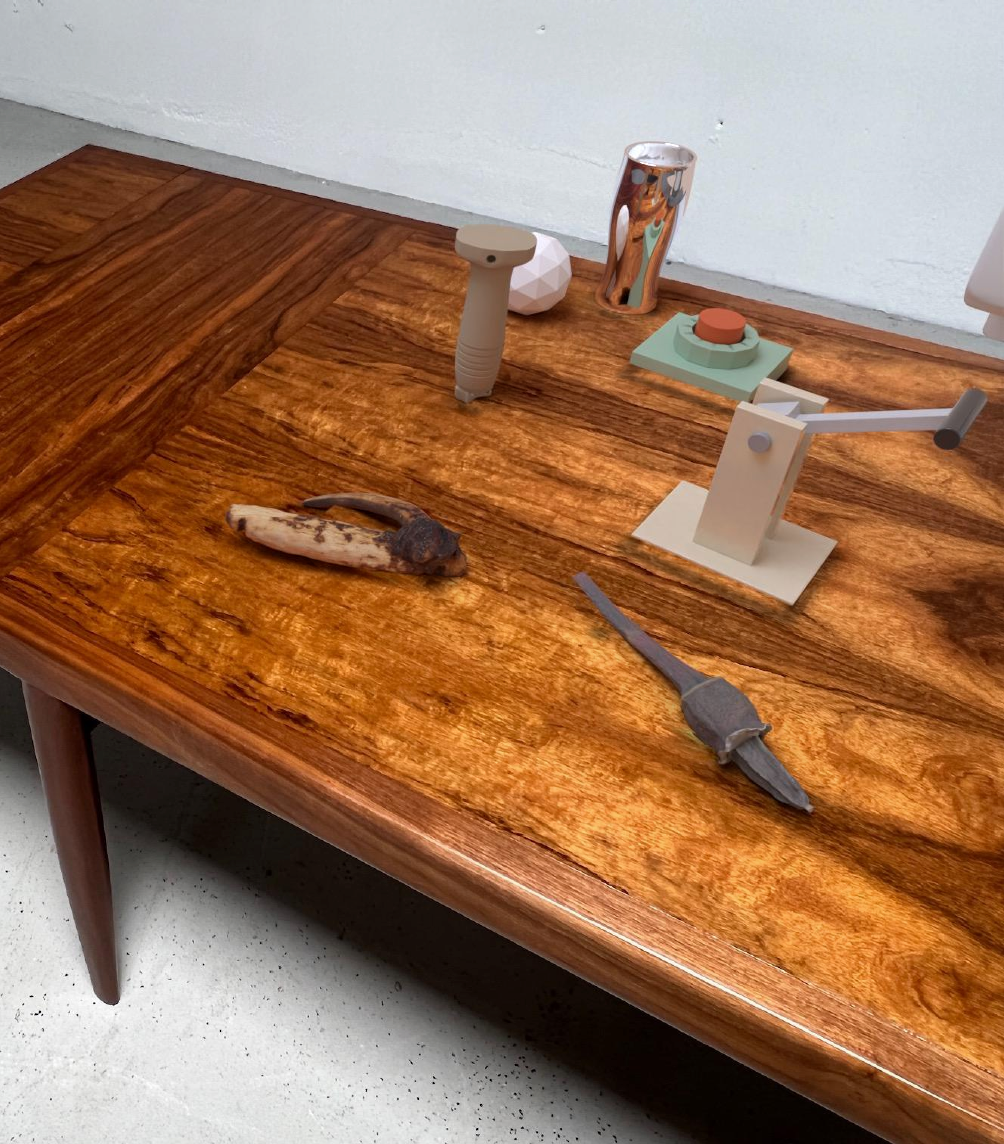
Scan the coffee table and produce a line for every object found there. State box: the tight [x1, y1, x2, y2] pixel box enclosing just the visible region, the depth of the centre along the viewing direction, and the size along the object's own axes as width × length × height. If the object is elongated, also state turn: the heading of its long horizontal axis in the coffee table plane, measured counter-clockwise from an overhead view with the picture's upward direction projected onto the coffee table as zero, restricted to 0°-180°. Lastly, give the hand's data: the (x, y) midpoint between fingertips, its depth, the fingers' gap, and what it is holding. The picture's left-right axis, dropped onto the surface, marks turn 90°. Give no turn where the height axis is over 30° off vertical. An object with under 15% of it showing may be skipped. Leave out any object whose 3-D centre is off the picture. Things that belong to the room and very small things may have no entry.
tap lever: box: [756, 387, 988, 451], centre depth 73 cm, size 13×6×2 cm, turn 49°
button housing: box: [629, 311, 794, 403], centre depth 102 cm, size 11×10×4 cm
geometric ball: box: [508, 231, 573, 316], centre depth 110 cm, size 8×8×8 cm
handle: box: [454, 223, 537, 405], centre depth 95 cm, size 5×6×15 cm
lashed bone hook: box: [225, 492, 468, 577], centre depth 83 cm, size 9×5×18 cm
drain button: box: [694, 307, 747, 345], centre depth 100 cm, size 4×4×2 cm
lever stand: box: [630, 377, 839, 607], centre depth 79 cm, size 12×9×13 cm
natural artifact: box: [571, 571, 815, 814], centre depth 71 cm, size 4×23×4 cm
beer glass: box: [594, 140, 698, 316], centre depth 109 cm, size 7×7×15 cm
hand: (1002, 331), depth 64 cm, fingers closed
